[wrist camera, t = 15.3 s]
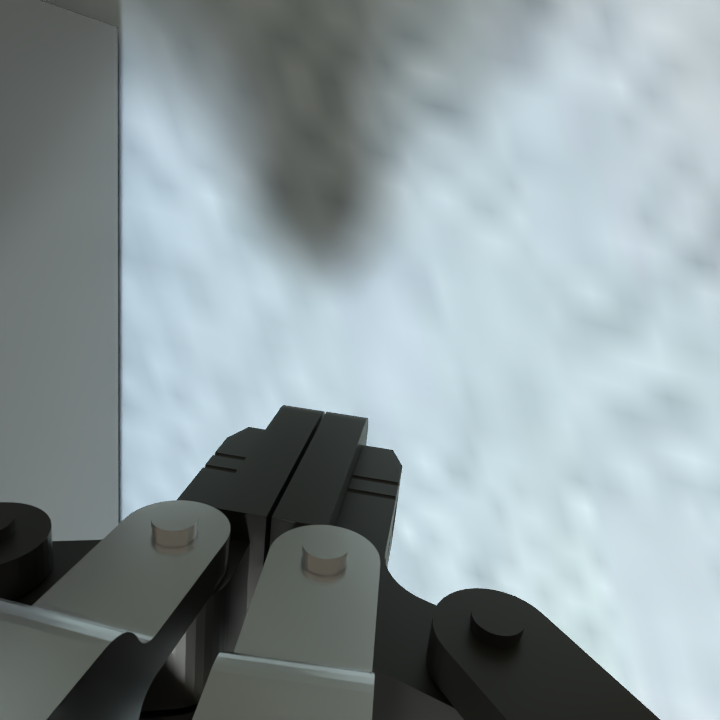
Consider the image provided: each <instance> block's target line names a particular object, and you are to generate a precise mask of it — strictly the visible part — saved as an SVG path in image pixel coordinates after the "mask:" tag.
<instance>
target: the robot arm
mask: <svg viewBox="0 0 720 720" xmlns="http://www.w3.org/2000/svg"><path fill="white" fill-rule="evenodd" d="M367 431H368V418H363V417H357V416H350V415H344V414H338V413H331V412H326V414H325V412H324V411H318V410H311V409H305V408H298V407H292V406H286V405H283V406H282V407H281V408H280V410H279V411H278V413H277V414H276V415H275V417H274V418H273V420H272V421H271V423H270V424H269V425H268V427H267V428H266V430H264V429H258V428H251V427H248V428H246V429H244V430H242V431H240V432H238V433H236V434H234V435H232V436H230V437H228V438H227V439H226V440H225V441H224V442H223V444H222V445H221V446H220V447H219V448H218V450H217V451H216V452H215V455H213V456H212V457H211V458H210V460H209V461H208V462H207V463H206V465H205V468H202V469H201V471H200V472H199V473H198V474H197V476H196V477H195V478H194V479H193V481H192V482H191V483H190V484H189V486H188V487H187V488H186V489H185V490H184V492H183V493H182V494H181V495H180V497H179V498H178V499H177V500H175V501H164V502H159V503H154V504H151V505H148V506H145V507H143V508H140V509H138V510H136V511H135V512H133V513H131V514H130V515H129V516H127V517H126V518H125V519H124V520H123V521H122V522H121V523H120V524H119V525H117V526H116V527H115V528H114V529H113V530H112V531H111V532H110V533H109V534H108V535H107V536H106V537H105V538H104V539H102V540H74V541H52V524H51V519H50V518H49V516H48V515H47V514H46V513H45V512H44V511H43V510H41V509H39V508H37V507H35V506H32V505H28V504H23V503H15V502H0V720H660V719H659V718H658V717H657V716H655V715H654V714H653V713H652V712H651V711H650V710H649V709H648V708H647V707H645V706H644V705H643V704H642V703H641V702H640V701H639V700H638V699H637V698H635V697H634V696H633V695H632V694H631V693H630V692H629V691H628V690H627V689H625V688H624V687H623V686H622V685H621V684H620V683H619V682H618V681H617V680H615V679H614V678H613V677H612V676H611V675H610V674H609V673H608V672H607V671H605V670H604V669H603V668H602V667H601V666H600V665H599V664H598V663H597V662H595V661H594V660H593V659H592V658H591V657H590V656H589V655H588V654H587V653H585V652H584V651H583V650H582V649H581V648H580V647H579V646H578V645H577V644H575V643H574V642H573V641H572V640H571V639H570V638H569V637H568V636H567V635H565V634H564V633H563V632H562V631H561V630H560V629H559V628H558V627H557V626H555V625H554V624H553V623H552V622H551V621H550V620H549V619H548V618H547V617H545V616H544V615H543V614H542V613H541V612H540V611H538V610H537V609H536V608H535V607H533V606H532V605H530V604H528V603H527V602H525V601H523V600H521V599H519V598H517V597H515V596H512V595H510V594H507V593H504V592H500V591H496V590H490V589H479V588H474V589H464V590H460V591H456V592H454V593H451V594H449V595H448V596H446V597H444V598H443V599H442V600H441V601H440V602H439V603H438V604H437V606H436V605H434V604H432V603H429V602H427V601H425V600H423V599H421V598H419V597H417V596H415V595H413V594H411V593H410V592H408V591H407V590H405V589H404V588H403V587H402V586H400V585H399V584H398V583H397V582H396V581H395V579H394V578H393V577H392V576H391V574H390V573H389V571H388V569H387V565H388V560H389V555H390V549H391V544H392V537H393V530H394V523H395V515H396V508H397V501H398V493H399V486H400V479H401V472H402V465H401V463H400V461H399V460H398V458H397V456H396V455H395V453H394V451H393V450H389V449H383V448H377V447H370V446H366V440H367Z"/></svg>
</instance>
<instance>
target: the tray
mask: <svg viewBox="0 0 720 720" xmlns="http://www.w3.org/2000/svg"><path fill="white" fill-rule="evenodd" d="M0 502H15V503H23V504H28V505H32V506H35V507H37V508H39V509H41V510H43V511H44V512H45V513H46V514H47V515H48V516H49V518H50V519H51V524H52V541H74V540H102V539H104V538H105V537H106V536H107V535H108V534H109V533H110V532H111V531H112V530H113V529H114V528H115V527H116V526H117V525H119V504H118V27H115V26H112V25H109V24H107V23H104V22H101V21H98V20H95V19H92V18H89V17H86V16H84V15H81V14H78V13H75V12H72V11H69V10H66V9H64V8H61V7H58V6H55V5H52V4H49V3H46V2H44V1H41V0H0Z"/></svg>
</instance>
